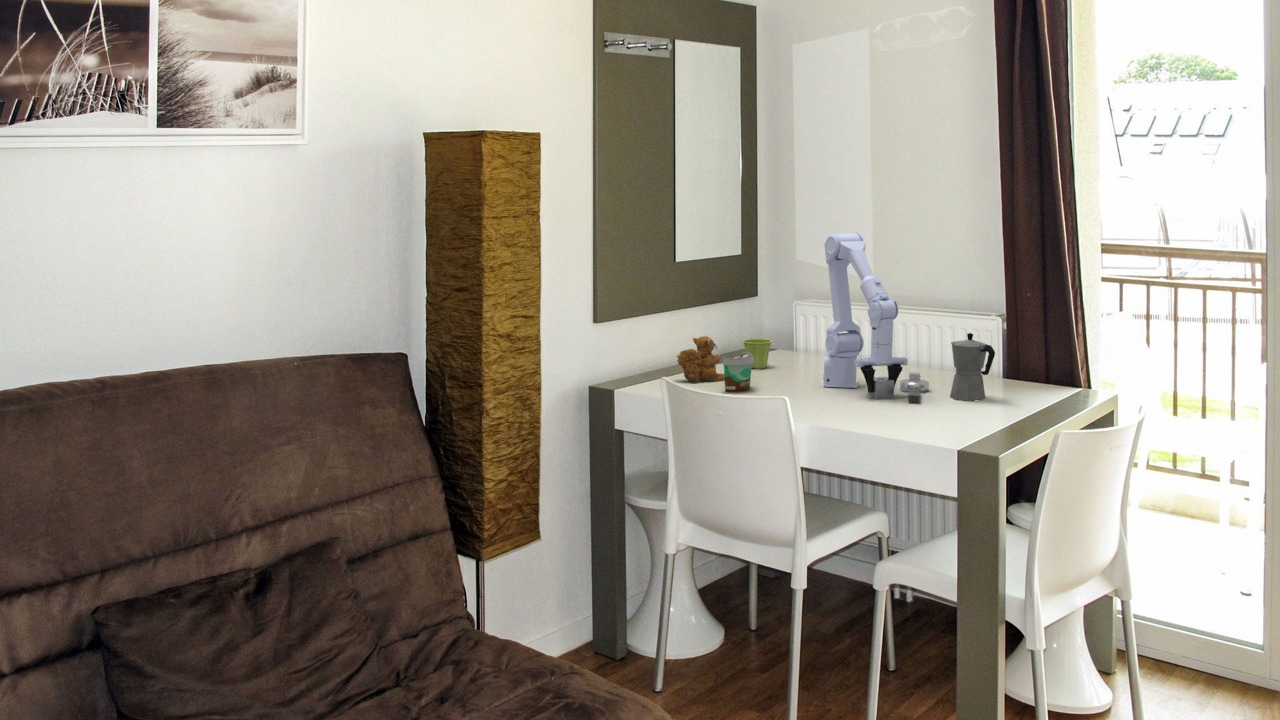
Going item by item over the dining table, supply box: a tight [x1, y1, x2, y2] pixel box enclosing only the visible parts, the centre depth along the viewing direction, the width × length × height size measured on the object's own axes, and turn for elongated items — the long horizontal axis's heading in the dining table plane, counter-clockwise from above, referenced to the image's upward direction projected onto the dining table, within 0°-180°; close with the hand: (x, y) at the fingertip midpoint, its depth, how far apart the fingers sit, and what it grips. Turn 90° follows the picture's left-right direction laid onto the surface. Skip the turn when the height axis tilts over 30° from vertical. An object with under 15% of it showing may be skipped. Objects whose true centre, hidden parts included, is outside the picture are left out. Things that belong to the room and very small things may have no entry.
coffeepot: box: [949, 332, 996, 402], centre depth 294 cm, size 15×9×18 cm, turn 29°
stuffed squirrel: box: [675, 335, 725, 384], centre depth 325 cm, size 10×14×13 cm
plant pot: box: [742, 338, 773, 370], centre depth 346 cm, size 9×9×9 cm
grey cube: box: [867, 376, 895, 400], centre depth 299 cm, size 5×5×5 cm
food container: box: [722, 351, 754, 393], centre depth 310 cm, size 12×6×10 cm, turn 148°
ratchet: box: [899, 371, 930, 405], centre depth 301 cm, size 8×22×5 cm, turn 166°
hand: (880, 391), depth 299 cm, fingers closed on grey cube, 5 cm apart
